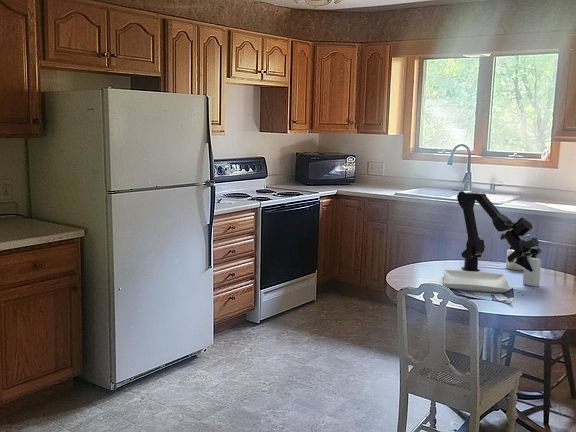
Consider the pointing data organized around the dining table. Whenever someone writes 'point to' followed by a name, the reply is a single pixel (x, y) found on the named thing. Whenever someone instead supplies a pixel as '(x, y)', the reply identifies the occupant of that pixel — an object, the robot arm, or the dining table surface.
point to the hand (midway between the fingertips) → (534, 270)
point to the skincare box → (533, 276)
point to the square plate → (475, 281)
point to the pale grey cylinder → (512, 265)
